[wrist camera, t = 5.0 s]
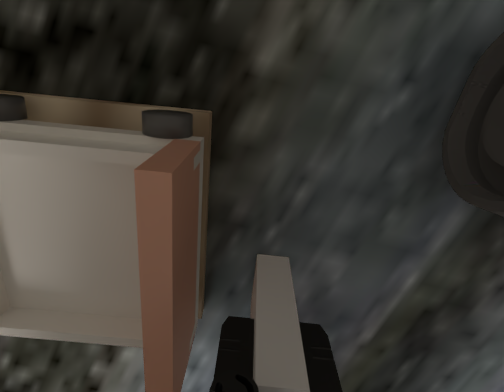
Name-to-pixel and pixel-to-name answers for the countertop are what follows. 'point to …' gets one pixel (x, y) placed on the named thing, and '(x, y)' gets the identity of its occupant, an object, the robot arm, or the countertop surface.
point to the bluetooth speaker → (479, 135)
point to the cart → (102, 235)
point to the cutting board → (127, 119)
